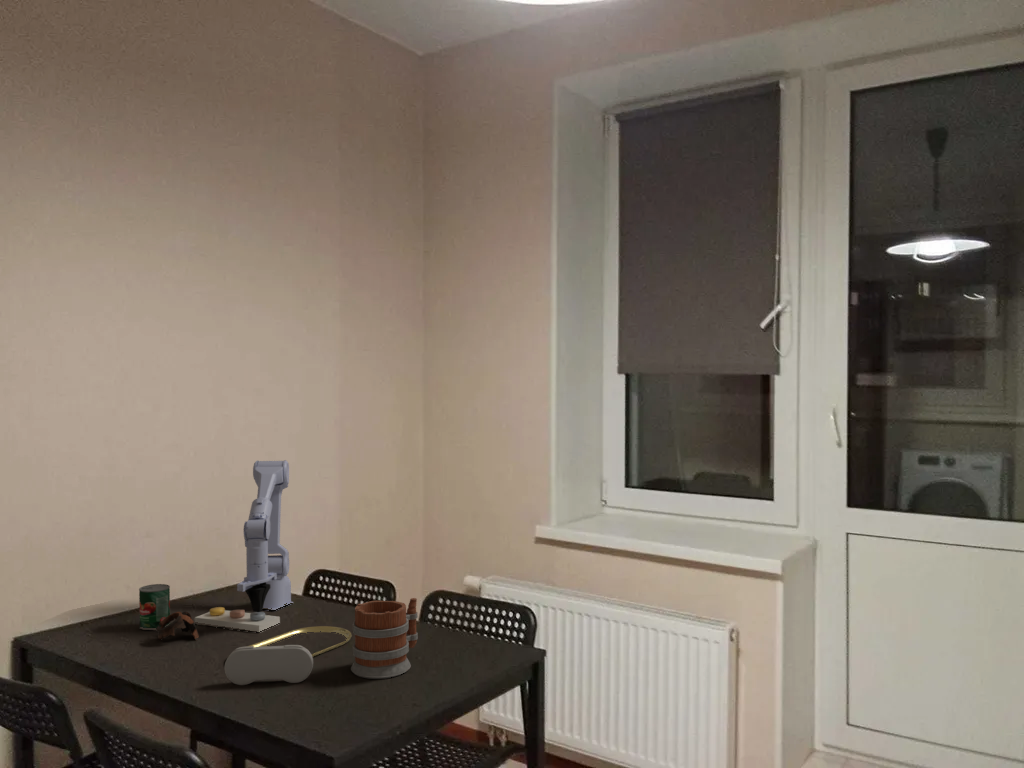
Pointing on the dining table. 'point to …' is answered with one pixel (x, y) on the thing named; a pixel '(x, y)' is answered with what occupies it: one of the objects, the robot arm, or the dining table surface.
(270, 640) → the u-shaped metal loop
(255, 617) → the button slate
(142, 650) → the dining table surface
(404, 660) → the mug
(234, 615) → the button terracotta
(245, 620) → the button panel
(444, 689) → the dining table surface
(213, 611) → the button amber
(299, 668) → the game controller
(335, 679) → the dining table surface
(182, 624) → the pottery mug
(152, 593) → the canned tomato
